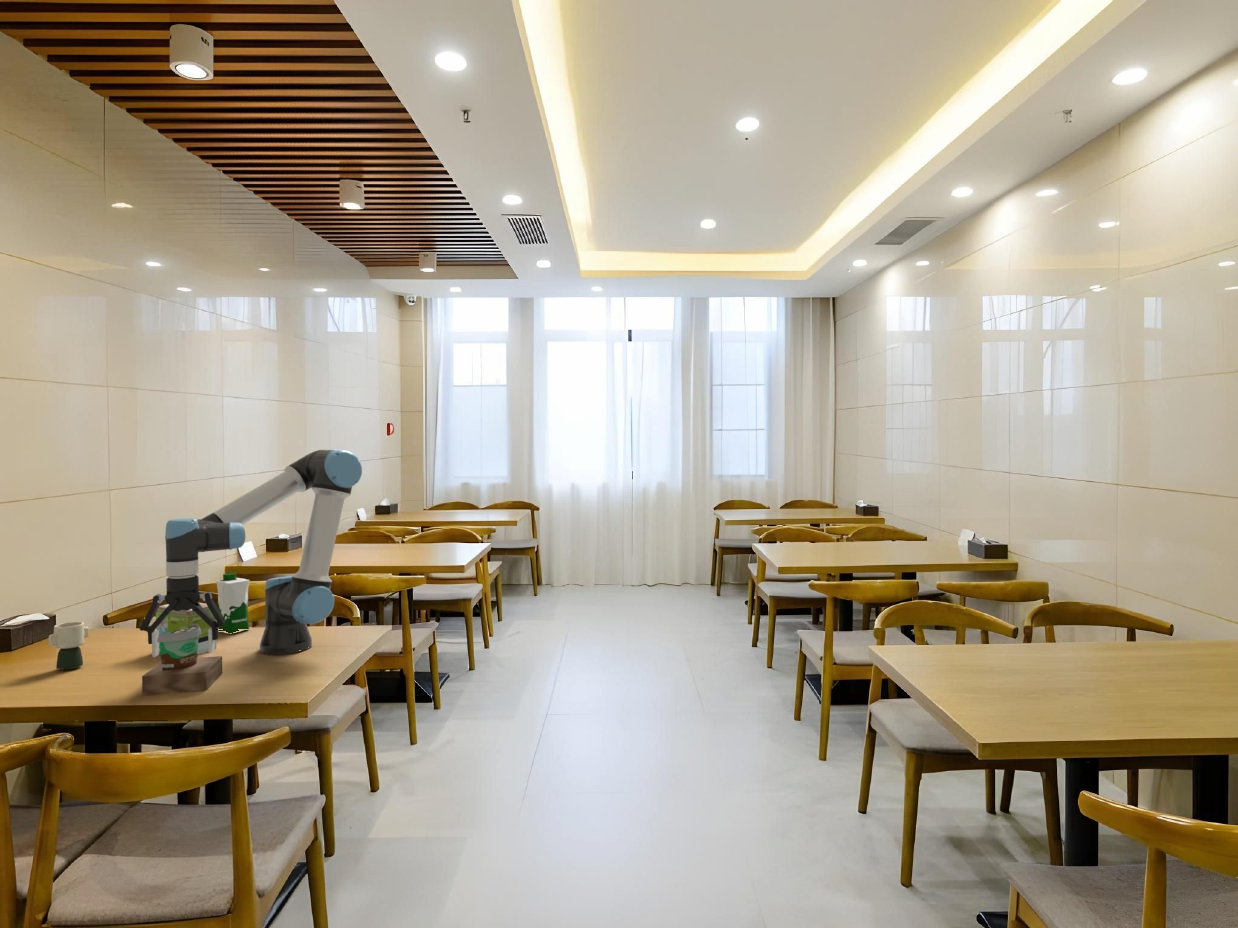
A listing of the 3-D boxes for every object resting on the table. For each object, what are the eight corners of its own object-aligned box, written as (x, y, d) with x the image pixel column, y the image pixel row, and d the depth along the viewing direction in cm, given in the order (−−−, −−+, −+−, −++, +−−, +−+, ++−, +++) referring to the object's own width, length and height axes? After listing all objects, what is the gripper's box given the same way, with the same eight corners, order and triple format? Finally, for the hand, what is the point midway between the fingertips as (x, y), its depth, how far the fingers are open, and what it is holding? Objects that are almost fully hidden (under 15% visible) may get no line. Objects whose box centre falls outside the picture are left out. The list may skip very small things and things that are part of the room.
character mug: (80, 662, 218) (79, 619, 217) (97, 664, 215) (96, 620, 215) (41, 672, 207) (40, 627, 207) (58, 675, 205) (57, 629, 205)
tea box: (155, 652, 228) (154, 605, 227) (184, 644, 237) (184, 599, 237) (188, 657, 222) (188, 609, 222) (217, 649, 231) (217, 603, 231)
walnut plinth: (222, 673, 206) (222, 655, 206) (206, 690, 192) (206, 671, 192) (163, 677, 203) (162, 659, 203) (142, 695, 188) (142, 676, 188)
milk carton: (238, 627, 260) (237, 571, 260) (253, 630, 255) (252, 573, 255) (214, 632, 253) (213, 575, 252) (228, 635, 248) (227, 577, 247)
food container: (178, 673, 191) (177, 635, 190) (157, 671, 192) (157, 634, 191) (212, 659, 203) (211, 624, 202) (193, 658, 204) (192, 623, 204)
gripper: (236, 571, 203) (237, 646, 204) (135, 575, 197) (137, 653, 198) (229, 576, 196) (230, 654, 197) (124, 580, 190) (126, 661, 190)
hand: (183, 653), depth 197 cm, fingers open, 13 cm apart
